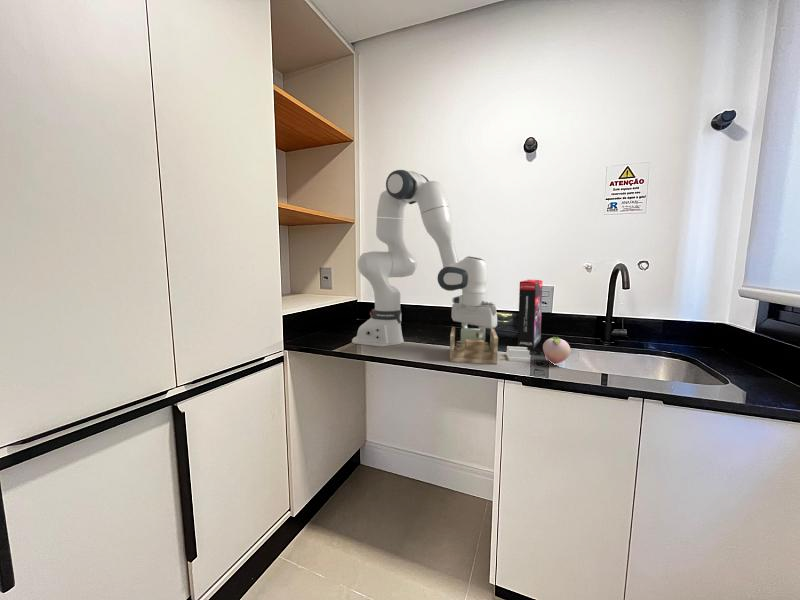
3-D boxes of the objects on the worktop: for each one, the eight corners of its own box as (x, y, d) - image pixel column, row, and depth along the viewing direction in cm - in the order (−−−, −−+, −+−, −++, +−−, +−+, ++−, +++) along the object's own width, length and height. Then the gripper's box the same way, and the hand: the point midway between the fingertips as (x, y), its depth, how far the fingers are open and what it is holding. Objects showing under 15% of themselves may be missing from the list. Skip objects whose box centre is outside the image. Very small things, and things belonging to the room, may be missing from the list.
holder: (508, 360, 116) (509, 350, 116) (506, 354, 124) (506, 345, 124) (529, 362, 115) (530, 352, 115) (525, 355, 123) (526, 346, 122)
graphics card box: (533, 349, 131) (537, 281, 128) (515, 347, 135) (519, 281, 132) (540, 341, 146) (544, 279, 143) (524, 339, 150) (527, 279, 146)
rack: (449, 361, 115) (450, 335, 114) (451, 349, 131) (452, 326, 130) (497, 364, 112) (498, 337, 111) (493, 351, 128) (494, 328, 127)
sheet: (460, 349, 126) (461, 329, 125) (460, 348, 128) (460, 328, 127) (484, 351, 124) (485, 330, 124) (484, 349, 127) (484, 329, 126)
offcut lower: (464, 358, 115) (464, 349, 115) (464, 355, 118) (464, 347, 118) (481, 359, 114) (482, 350, 114) (481, 356, 117) (481, 348, 117)
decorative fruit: (573, 368, 108) (575, 339, 107) (546, 367, 109) (548, 337, 108) (564, 360, 117) (566, 333, 116) (539, 359, 119) (541, 332, 118)
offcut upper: (466, 350, 114) (466, 341, 114) (465, 347, 118) (465, 339, 117) (483, 350, 114) (484, 342, 113) (482, 348, 117) (482, 339, 117)
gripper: (502, 302, 117) (500, 340, 119) (460, 297, 134) (459, 330, 136) (490, 303, 114) (488, 342, 116) (449, 298, 131) (448, 332, 132)
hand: (472, 336), depth 126 cm, fingers closed on sheet, 5 cm apart
